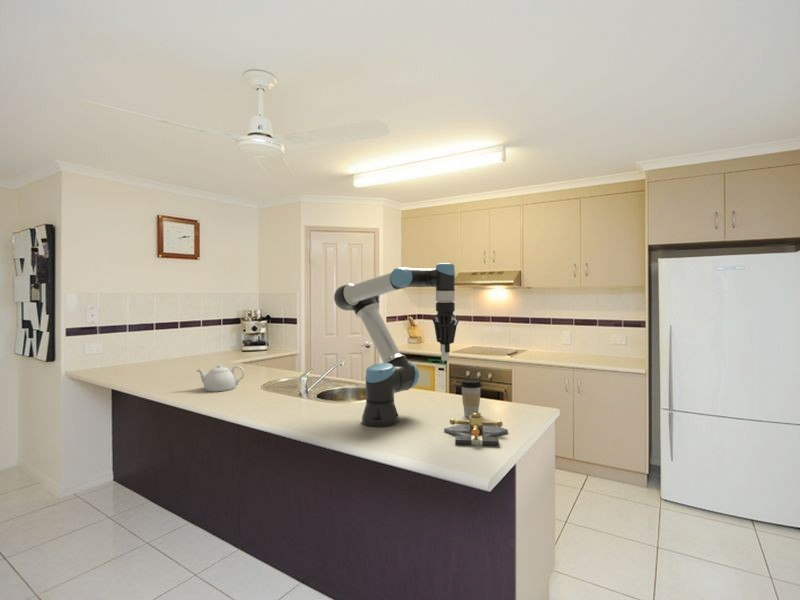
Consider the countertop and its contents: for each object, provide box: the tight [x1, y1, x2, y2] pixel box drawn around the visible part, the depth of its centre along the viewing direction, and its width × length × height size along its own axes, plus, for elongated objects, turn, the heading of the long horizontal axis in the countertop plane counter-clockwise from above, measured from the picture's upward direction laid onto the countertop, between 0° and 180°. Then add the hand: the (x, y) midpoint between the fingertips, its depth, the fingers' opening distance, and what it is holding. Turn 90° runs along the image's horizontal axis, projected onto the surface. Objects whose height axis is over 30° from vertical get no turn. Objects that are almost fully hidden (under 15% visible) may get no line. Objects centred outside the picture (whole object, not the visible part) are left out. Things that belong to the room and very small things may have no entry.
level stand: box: [443, 424, 509, 447], centre depth 165 cm, size 25×24×2 cm
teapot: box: [196, 364, 245, 393], centre depth 249 cm, size 19×18×14 cm
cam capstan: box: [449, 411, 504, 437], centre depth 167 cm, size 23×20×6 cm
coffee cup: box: [459, 378, 483, 418], centre depth 193 cm, size 9×9×15 cm
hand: (445, 360), depth 179 cm, fingers closed
